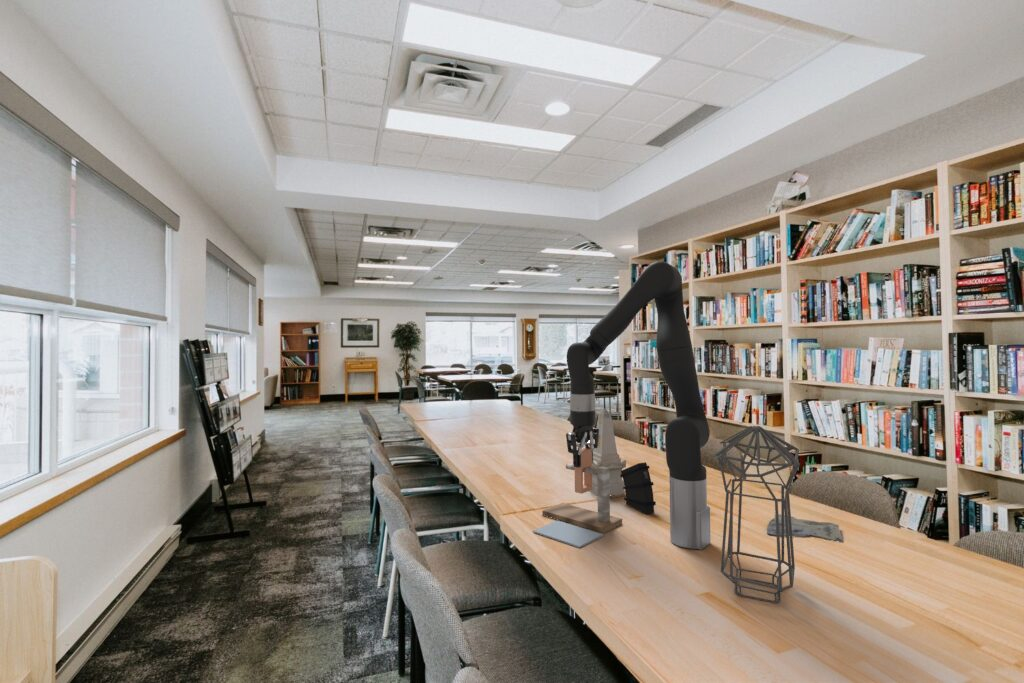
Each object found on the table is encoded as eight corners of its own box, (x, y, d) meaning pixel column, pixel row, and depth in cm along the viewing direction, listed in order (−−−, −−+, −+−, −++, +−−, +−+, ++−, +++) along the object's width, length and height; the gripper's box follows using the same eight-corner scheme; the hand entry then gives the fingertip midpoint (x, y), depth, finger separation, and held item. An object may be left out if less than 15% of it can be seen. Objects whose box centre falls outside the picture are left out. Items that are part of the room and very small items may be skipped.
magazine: (652, 512, 147) (638, 463, 153) (628, 519, 158) (616, 472, 164) (662, 510, 148) (648, 461, 155) (638, 517, 159) (625, 471, 165)
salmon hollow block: (592, 489, 147) (591, 449, 147) (581, 493, 143) (580, 452, 143) (585, 488, 149) (585, 447, 149) (574, 492, 145) (574, 450, 145)
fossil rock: (837, 529, 138) (837, 521, 138) (844, 549, 125) (844, 540, 125) (767, 519, 146) (767, 511, 146) (767, 537, 133) (767, 528, 133)
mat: (603, 536, 133) (603, 534, 133) (579, 548, 125) (579, 546, 125) (557, 522, 144) (557, 520, 144) (532, 532, 136) (532, 530, 136)
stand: (622, 523, 142) (621, 466, 143) (603, 533, 135) (602, 472, 135) (562, 507, 157) (561, 455, 158) (542, 515, 150) (541, 460, 150)
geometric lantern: (799, 584, 105) (799, 423, 105) (800, 621, 92) (799, 436, 91) (721, 567, 113) (720, 417, 113) (710, 599, 100) (710, 429, 99)
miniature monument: (586, 489, 178) (585, 407, 178) (611, 486, 181) (610, 405, 181) (599, 497, 168) (598, 410, 168) (626, 494, 171) (625, 409, 171)
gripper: (578, 412, 138) (579, 471, 138) (606, 407, 149) (607, 462, 148) (557, 410, 143) (558, 467, 143) (586, 405, 154) (586, 459, 154)
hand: (583, 464), depth 146 cm, fingers closed on salmon hollow block, 5 cm apart
